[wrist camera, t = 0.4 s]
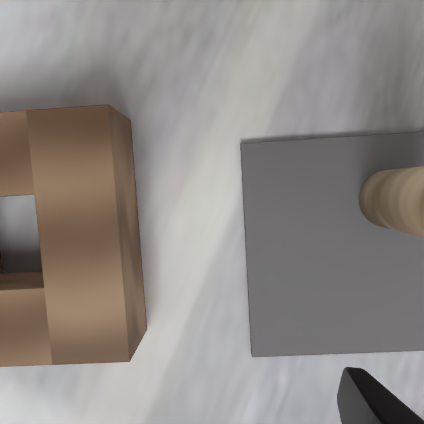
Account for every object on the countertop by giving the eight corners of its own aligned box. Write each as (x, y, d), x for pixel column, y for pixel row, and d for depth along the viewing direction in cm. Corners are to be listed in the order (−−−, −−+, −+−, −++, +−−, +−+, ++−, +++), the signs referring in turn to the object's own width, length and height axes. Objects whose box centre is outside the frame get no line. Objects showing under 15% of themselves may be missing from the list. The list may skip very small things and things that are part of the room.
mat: (433, 347, 21) (437, 350, 21) (251, 354, 22) (251, 357, 21) (432, 132, 20) (436, 130, 20) (240, 144, 21) (240, 143, 20)
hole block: (146, 329, 22) (129, 361, 18) (-52, 338, 22) (-112, 370, 18) (130, 120, 21) (108, 104, 17) (-78, 134, 21) (-148, 122, 17)
